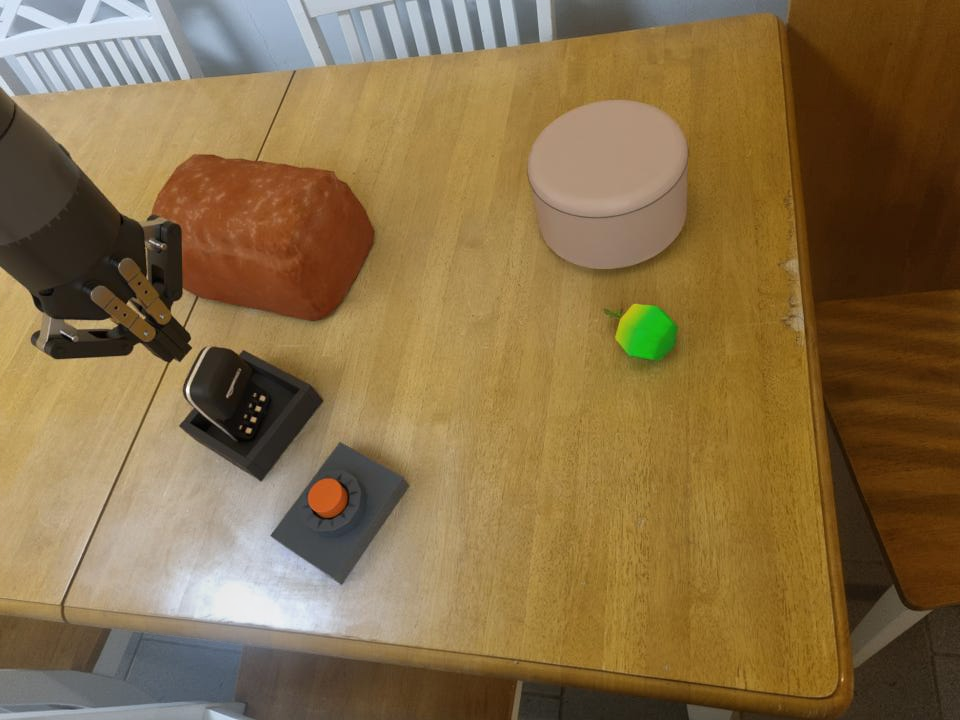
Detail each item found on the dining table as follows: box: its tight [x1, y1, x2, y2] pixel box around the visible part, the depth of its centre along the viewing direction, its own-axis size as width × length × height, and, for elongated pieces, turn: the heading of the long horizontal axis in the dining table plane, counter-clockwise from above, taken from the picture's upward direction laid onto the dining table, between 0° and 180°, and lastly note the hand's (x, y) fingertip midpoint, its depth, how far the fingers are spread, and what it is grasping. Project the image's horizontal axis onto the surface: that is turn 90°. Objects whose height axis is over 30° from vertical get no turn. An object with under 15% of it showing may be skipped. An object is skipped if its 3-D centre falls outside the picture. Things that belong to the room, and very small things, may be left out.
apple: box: [601, 303, 679, 362], centre depth 78 cm, size 7×6×9 cm
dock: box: [178, 349, 324, 482], centre depth 85 cm, size 12×12×4 cm
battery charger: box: [182, 345, 271, 442], centre depth 81 cm, size 7×4×11 cm, turn 166°
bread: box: [150, 153, 375, 322], centre depth 94 cm, size 17×24×15 cm
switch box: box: [269, 441, 410, 586], centre depth 76 cm, size 12×9×4 cm
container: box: [526, 99, 690, 270], centre depth 86 cm, size 18×18×12 cm
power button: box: [308, 478, 348, 518], centre depth 74 cm, size 4×4×2 cm
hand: (179, 351), depth 58 cm, fingers closed
